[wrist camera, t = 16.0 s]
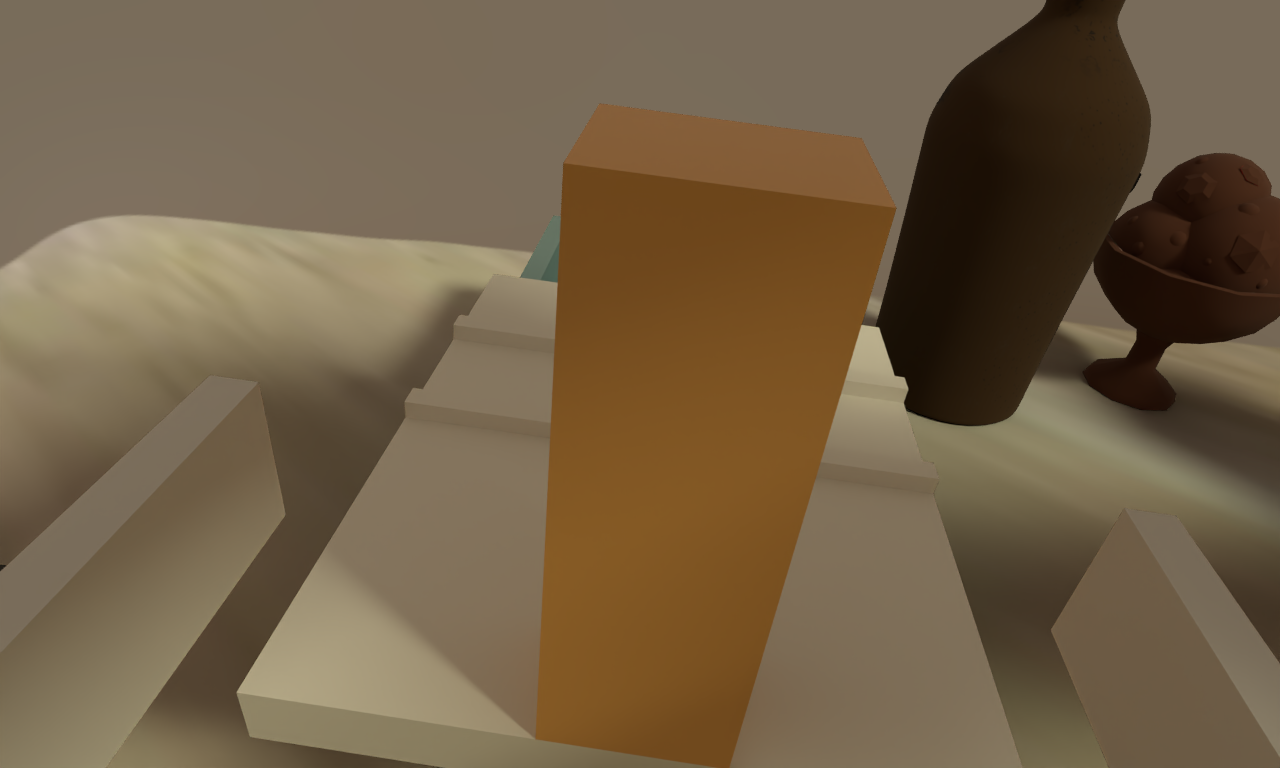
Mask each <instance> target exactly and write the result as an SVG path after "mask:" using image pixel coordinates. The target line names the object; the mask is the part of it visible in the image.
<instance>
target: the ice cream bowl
mask: <svg viewBox="0 0 1280 768" xmlns="http://www.w3.org/2000/svg"><path fill="white" fill-rule="evenodd" d="M1271 187H1272V186H1271V183H1270V181H1269V179H1268V178H1267V175H1266V173H1265V172H1264V171H1263V170H1262V169H1261V168H1260V167H1259V166H1257V165H1256V164H1255V163H1254V162H1252V161H1251V160H1248V159H1245V158H1243V157H1240V156H1237V155H1235V154H1227V153H1214V154H1207V155H1200V156H1197V157H1195V158H1193V159H1191V160H1188V161H1186V162H1184V163H1182V164H1180V165H1178V166H1177V167H1176V168H1174V169H1173V170H1172V171H1171V172H1170V173H1168V174H1167V175H1166V176H1165V177H1164V178H1163V179H1162V181H1161V182H1160V183H1159V185H1158V187H1157V188H1156V189H1155V191H1154V193H1153V197H1152V200H1151V201H1148V202H1146V203H1144V204H1142V205H1139V206H1137V207H1135V208H1133V209H1131V210H1129V211H1127V212H1126V213H1125V214H1123V215H1122V216H1121V217H1120V218H1118V219H1117V220H1116V221H1114V223H1113V225H1112V227H1111V228H1110V230H1109V232H1108V234H1107V236H1106V238H1105V240H1104V241H1103V243H1102V245H1101V247H1100V249H1099V251H1098V253H1097V255H1096V256H1095V258H1094V260H1093V262H1094V273H1095V275H1096V277H1097V279H1098V281H1099V283H1100V285H1101V288H1102V289H1103V292H1104V294H1105V295H1106V297H1107V298H1108V300H1109V301H1110V303H1111V304H1112V305H1113V307H1114V308H1115V310H1116V311H1117V312H1118V313H1119V315H1120V316H1121V317H1122V318H1123V319H1124V321H1125V322H1127V323H1128V324H1130V325H1131V326H1133V327H1134V328H1136V329H1137V336H1136V341H1135V343H1134V345H1133V347H1132V348H1131V350H1130V352H1129V354H1128V355H1127V357H1126V358H1112V359H1098V360H1096V361H1095V362H1094V363H1092V364H1091V365H1090V366H1088V367H1087V368H1086V369H1085V370H1084V371H1083V374H1084V376H1085V378H1086V379H1087V381H1088V383H1089V385H1090V386H1091V387H1093V388H1094V389H1096V390H1097V391H1099V392H1100V393H1102V394H1104V395H1105V396H1107V397H1108V398H1110V399H1111V400H1113V401H1116V402H1119V403H1123V404H1126V405H1129V406H1132V407H1135V408H1138V409H1141V410H1167V409H1168V408H1169V407H1170V406H1171V405H1172V404H1173V403H1174V402H1175V398H1176V393H1175V391H1174V390H1173V388H1172V387H1171V386H1170V384H1169V383H1168V381H1167V380H1166V379H1165V378H1164V377H1163V376H1162V375H1161V374H1160V373H1159V372H1158V371H1157V370H1156V367H1157V365H1158V363H1159V361H1160V359H1161V357H1162V355H1163V353H1164V351H1165V349H1166V348H1167V347H1169V346H1170V345H1171V344H1173V343H1190V344H1205V343H1216V342H1225V341H1229V340H1232V339H1236V338H1239V337H1243V336H1247V335H1250V334H1254V333H1256V332H1257V331H1259V330H1260V329H1262V328H1263V327H1265V326H1267V325H1268V324H1270V323H1271V322H1273V321H1274V320H1276V319H1277V318H1278V317H1279V316H1280V199H1279V198H1276V197H1274V196H1271Z"/></svg>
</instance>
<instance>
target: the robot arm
mask: <svg viewBox="0 0 1280 768" xmlns="http://www.w3.org/2000/svg"><path fill="white" fill-rule="evenodd" d="M285 515H286V514H285V509H284V504H283V499H282V494H281V489H280V484H279V479H278V474H277V469H276V464H275V459H274V454H273V449H272V445H271V440H270V435H269V430H268V425H267V420H266V415H265V410H264V405H263V400H262V395H261V390H260V385H259V382H255V381H248V380H241V379H234V378H227V377H220V376H214V375H210V376H208V377H207V378H206V379H205V380H204V381H203V382H202V383H201V384H200V385H199V386H198V387H197V388H196V389H195V390H194V391H192V392H191V393H190V394H189V395H188V396H187V397H186V398H185V399H184V400H183V401H182V402H181V403H180V404H179V405H178V406H176V407H175V408H174V409H173V410H172V411H171V412H170V413H169V414H168V415H167V416H166V417H165V418H164V419H163V420H162V421H160V422H159V423H158V424H157V425H156V426H155V427H154V428H153V429H152V430H151V431H150V432H149V433H148V434H147V435H145V436H144V437H143V438H142V439H141V440H140V441H139V442H138V443H137V444H136V445H135V446H134V447H133V448H132V449H131V450H129V451H128V452H127V453H126V454H125V455H124V456H123V457H122V458H121V459H120V460H119V461H118V462H117V463H116V464H115V465H113V466H112V467H111V468H110V469H109V470H108V471H107V472H106V473H105V474H104V475H103V476H102V477H101V478H100V479H99V480H97V481H96V482H95V483H94V484H93V485H92V486H91V487H90V488H89V489H88V490H87V491H86V492H85V493H84V494H83V495H81V496H80V497H79V498H78V499H77V500H76V501H75V502H74V503H73V504H72V505H71V506H70V507H69V508H68V509H67V510H65V511H64V512H63V513H62V514H61V515H60V516H59V517H58V518H57V519H56V520H55V521H54V522H53V523H52V524H51V525H49V526H48V527H47V528H46V529H45V530H44V531H43V532H42V533H41V534H40V535H39V536H38V537H37V538H36V539H34V540H33V541H32V542H31V543H30V544H29V545H28V546H27V547H26V548H25V549H24V550H23V551H22V552H21V553H20V554H18V555H17V556H16V557H15V558H14V559H13V560H12V561H11V562H10V563H9V564H8V565H7V566H6V565H0V768H106V767H107V766H108V764H109V763H110V761H111V760H112V759H113V757H114V756H115V754H116V753H117V751H118V750H119V749H120V747H121V746H122V744H123V743H124V742H125V740H126V739H127V737H128V736H129V735H130V733H131V732H132V730H133V729H134V728H135V726H136V725H137V723H138V722H139V721H140V719H141V718H142V716H143V715H144V714H145V712H146V711H147V709H148V708H149V706H150V705H151V704H152V702H153V701H154V699H155V698H156V697H157V695H158V694H159V692H160V691H161V690H162V688H163V687H164V685H165V684H166V683H167V681H168V680H169V678H170V677H171V676H172V674H173V673H174V671H175V670H176V669H177V667H178V666H179V664H180V663H181V661H182V660H183V659H184V657H185V656H186V654H187V653H188V652H189V650H190V649H191V647H192V646H193V645H194V643H195V642H196V640H197V639H198V638H199V636H200V635H201V633H202V632H203V631H204V629H205V628H206V626H207V625H208V624H209V622H210V621H211V619H212V618H213V616H214V615H215V614H216V612H217V611H218V609H219V608H220V607H221V605H222V604H223V602H224V601H225V600H226V598H227V597H228V595H229V594H230V593H231V591H232V590H233V588H234V587H235V586H236V584H237V583H238V581H239V580H240V578H241V577H242V576H243V574H244V573H245V571H246V570H247V569H248V567H249V566H250V564H251V563H252V562H253V560H254V559H255V557H256V556H257V555H258V553H259V552H260V550H261V549H262V548H263V546H264V545H265V543H266V542H267V541H268V539H269V538H270V536H271V535H272V533H273V532H274V531H275V529H276V528H277V526H278V525H279V524H280V522H281V521H282V519H283V518H284V517H285ZM1051 632H1052V635H1053V637H1054V639H1055V642H1056V644H1057V646H1058V649H1059V651H1060V653H1061V656H1062V658H1063V661H1064V663H1065V665H1066V668H1067V670H1068V672H1069V675H1070V677H1071V679H1072V682H1073V684H1074V687H1075V689H1076V691H1077V694H1078V696H1079V698H1080V701H1081V703H1082V705H1083V708H1084V710H1085V713H1086V715H1087V717H1088V720H1089V722H1090V724H1091V727H1092V729H1093V731H1094V734H1095V736H1096V739H1097V741H1098V743H1099V746H1100V748H1101V750H1102V753H1103V755H1104V757H1105V760H1106V762H1107V765H1108V767H1109V768H1280V663H1279V662H1278V660H1277V659H1276V657H1275V656H1274V655H1273V653H1272V652H1271V650H1270V649H1269V647H1268V646H1267V644H1266V643H1265V642H1264V640H1263V639H1262V637H1261V636H1260V634H1259V633H1258V632H1257V630H1256V629H1255V627H1254V626H1253V624H1252V623H1251V622H1250V620H1249V619H1248V617H1247V616H1246V614H1245V613H1244V612H1243V610H1242V609H1241V607H1240V606H1239V604H1238V603H1237V602H1236V600H1235V599H1234V597H1233V596H1232V594H1231V593H1230V592H1229V590H1228V589H1227V587H1226V586H1225V584H1224V583H1223V582H1222V580H1221V579H1220V577H1219V576H1218V574H1217V573H1216V571H1215V570H1214V569H1213V567H1212V566H1211V564H1210V563H1209V561H1208V560H1207V559H1206V557H1205V556H1204V554H1203V553H1202V551H1201V550H1200V549H1199V547H1198V546H1197V544H1196V543H1195V541H1194V540H1193V539H1192V537H1191V536H1190V534H1189V533H1188V531H1187V530H1186V529H1185V527H1184V526H1183V524H1182V523H1181V521H1180V520H1179V519H1178V517H1177V516H1175V515H1168V514H1161V513H1154V512H1147V511H1140V510H1133V509H1127V508H1124V509H1123V511H1122V513H1121V514H1120V516H1119V518H1118V519H1117V521H1116V523H1115V524H1114V526H1113V528H1112V529H1111V531H1110V533H1109V534H1108V536H1107V538H1106V539H1105V541H1104V543H1103V544H1102V546H1101V548H1100V549H1099V551H1098V553H1097V554H1096V556H1095V557H1094V559H1093V561H1092V562H1091V564H1090V566H1089V567H1088V569H1087V571H1086V572H1085V574H1084V576H1083V577H1082V579H1081V581H1080V582H1079V584H1078V586H1077V587H1076V589H1075V591H1074V592H1073V594H1072V596H1071V597H1070V599H1069V601H1068V602H1067V604H1066V605H1065V607H1064V609H1063V610H1062V612H1061V614H1060V615H1059V617H1058V619H1057V620H1056V622H1055V624H1054V625H1053V627H1052V629H1051Z"/></svg>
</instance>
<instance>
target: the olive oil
mask: <svg viewBox="0 0 1280 768" xmlns="http://www.w3.org/2000/svg"><path fill="white" fill-rule="evenodd" d="M1124 2H1125V0H1046V3H1045V5H1044V7H1043V9H1042V10H1041V11H1040V13H1039V14H1038V15H1036V16H1035V17H1034V18H1033V19H1032V20H1030V21H1029V22H1028V23H1027V24H1025V25H1024V26H1022V27H1021V28H1020V29H1018V30H1017V31H1015V32H1014V33H1013V34H1011V35H1010V36H1008V37H1007V38H1005V39H1004V40H1003V41H1001V42H1000V43H998V44H997V45H996V46H994V47H992V48H991V49H990V50H988V51H987V52H985V53H984V54H983V55H981V56H980V57H978V58H977V59H975V60H974V61H973V62H971V63H970V64H969V65H967V66H966V67H965V68H964V69H963V70H961V71H960V72H959V73H958V74H957V75H956V76H955V78H954V79H953V80H952V81H951V82H950V84H949V85H948V87H947V88H946V90H945V91H944V93H943V94H942V96H941V98H940V99H939V101H938V102H937V104H936V106H935V108H934V109H933V111H932V114H931V116H930V118H929V121H928V124H927V127H926V131H925V135H924V139H923V143H922V147H921V151H920V155H919V160H918V163H917V167H916V171H915V176H914V180H913V184H912V188H911V192H910V196H909V200H908V204H907V209H906V213H905V216H904V220H903V224H902V228H901V232H900V236H899V240H898V244H897V248H896V252H895V256H894V260H893V264H892V267H891V271H890V275H889V279H888V283H887V287H886V291H885V294H884V298H883V302H882V305H881V309H880V312H879V316H878V320H877V323H876V327H879V329H880V332H881V335H882V338H883V341H884V344H885V348H886V351H887V354H888V357H889V360H890V363H891V366H892V369H893V372H894V375H895V376H898V377H904V378H905V381H906V384H907V387H908V392H907V395H906V398H905V400H904V406H905V407H906V408H907V409H910V410H912V411H914V412H916V413H919V414H921V415H924V416H927V417H930V418H933V419H936V420H940V421H944V422H948V423H954V424H961V425H988V424H993V423H997V422H1000V421H1003V420H1005V419H1007V418H1009V417H1010V416H1011V415H1012V414H1013V413H1014V412H1015V411H1016V409H1017V408H1018V406H1019V404H1020V402H1021V400H1022V398H1023V396H1024V394H1025V392H1026V390H1027V388H1028V386H1029V384H1030V382H1031V380H1032V378H1033V376H1034V374H1035V372H1036V370H1037V368H1038V366H1039V364H1040V362H1041V360H1042V358H1043V356H1044V354H1045V352H1046V350H1047V348H1048V346H1049V344H1050V342H1051V340H1052V338H1053V336H1054V335H1055V333H1056V331H1057V329H1058V327H1059V325H1060V323H1061V321H1062V319H1063V317H1064V315H1065V313H1066V312H1067V310H1068V308H1069V306H1070V304H1071V302H1072V300H1073V298H1074V296H1075V294H1076V292H1077V290H1078V289H1079V287H1080V285H1081V283H1082V281H1083V279H1084V277H1085V275H1086V273H1087V271H1088V270H1089V268H1090V266H1091V264H1092V262H1093V260H1094V258H1095V256H1096V255H1097V253H1098V251H1099V249H1100V247H1101V245H1102V243H1103V241H1104V240H1105V238H1106V236H1107V234H1108V232H1109V230H1110V228H1111V227H1112V225H1113V223H1114V221H1115V219H1116V217H1117V215H1118V213H1119V212H1120V210H1121V208H1122V206H1123V204H1124V202H1125V201H1126V199H1127V197H1128V195H1129V193H1130V192H1131V191H1132V190H1133V189H1134V188H1135V186H1136V184H1137V182H1138V180H1139V178H1140V176H1141V173H1140V172H1141V169H1142V167H1143V164H1144V161H1145V158H1146V154H1147V149H1148V143H1149V135H1150V127H1151V114H1150V108H1149V104H1148V101H1147V98H1146V95H1145V93H1144V90H1143V88H1142V85H1141V84H1140V81H1139V78H1138V77H1137V74H1136V72H1135V69H1134V67H1133V65H1132V63H1131V60H1130V58H1129V56H1128V53H1127V51H1126V49H1125V47H1124V44H1123V42H1122V39H1121V37H1120V34H1119V30H1118V26H1117V21H1118V16H1119V13H1120V11H1121V9H1122V7H1123V4H1124Z"/></svg>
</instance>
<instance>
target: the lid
mask: <svg viewBox="0 0 1280 768" xmlns="http://www.w3.org/2000/svg"><path fill="white" fill-rule="evenodd" d="M895 211H896V206H895V204H894V202H893V200H892V198H891V196H890V194H889V192H888V190H887V188H886V186H885V184H884V182H883V180H882V178H881V176H880V174H879V172H878V170H877V168H876V166H875V164H874V162H873V160H872V158H871V156H870V154H869V152H868V150H867V148H866V146H865V144H864V142H863V140H862V138H856V137H849V136H841V135H834V134H826V133H818V132H811V131H804V130H796V129H788V128H781V127H773V126H766V125H758V124H751V123H743V122H735V121H728V120H720V119H713V118H706V117H698V116H690V115H683V114H675V113H668V112H660V111H653V110H645V109H638V108H630V107H622V106H614V105H607V104H599V105H598V107H597V109H596V111H595V112H594V114H593V115H592V117H591V119H590V120H589V122H588V123H587V125H586V127H585V129H584V130H583V132H582V133H581V135H580V137H579V138H578V140H577V142H576V143H575V145H574V147H573V148H572V150H571V151H570V153H569V155H568V156H567V158H566V160H565V161H564V163H563V182H562V203H561V223H560V244H559V264H558V283H556V282H549V281H542V280H535V279H528V278H521V277H513V276H506V275H499V274H493V276H492V277H491V279H490V281H489V282H488V284H487V286H486V287H485V289H484V290H483V292H482V294H481V295H480V297H479V299H478V300H477V302H476V303H475V305H474V307H473V308H472V310H471V312H470V313H469V315H468V316H466V315H459V316H458V318H457V320H456V321H455V323H454V324H453V336H454V339H453V341H452V342H451V344H450V346H449V347H448V349H447V351H446V352H445V354H444V355H443V357H442V359H441V360H440V362H439V364H438V365H437V367H436V369H435V370H434V372H433V373H432V375H431V377H430V378H429V380H428V382H427V383H426V385H425V386H424V388H423V389H419V388H413V389H412V390H411V392H410V393H409V395H408V397H407V398H406V400H405V401H404V405H405V419H404V421H403V422H402V424H401V425H400V427H399V429H398V430H397V432H396V434H395V435H394V437H393V438H392V440H391V442H390V443H389V445H388V447H387V448H386V450H385V451H384V453H383V455H382V456H381V458H380V460H379V461H378V463H377V465H376V466H375V468H374V469H373V471H372V473H371V474H370V476H369V478H368V479H367V481H366V482H365V484H364V486H363V487H362V489H361V491H360V492H359V494H358V495H357V497H356V499H355V500H354V502H353V504H352V505H351V507H350V508H349V510H348V512H347V513H346V515H345V517H344V518H343V520H342V521H341V523H340V525H339V526H338V528H337V530H336V531H335V533H334V534H333V536H332V538H331V539H330V541H329V543H328V544H327V546H326V548H325V549H324V551H323V552H322V554H321V556H320V557H319V559H318V561H317V562H316V564H315V565H314V567H313V569H312V570H311V572H310V574H309V575H308V577H307V578H306V580H305V582H304V583H303V585H302V587H301V588H300V590H299V591H298V593H297V595H296V596H295V598H294V600H293V601H292V603H291V604H290V606H289V608H288V609H287V611H286V613H285V614H284V616H283V617H282V619H281V621H280V622H279V624H278V626H277V627H276V629H275V630H274V632H273V634H272V635H271V637H270V639H269V640H268V642H267V644H266V645H265V647H264V648H263V650H262V652H261V653H260V655H259V657H258V658H257V660H256V661H255V663H254V665H253V666H252V668H251V670H250V671H249V673H248V674H247V676H246V678H245V679H244V681H243V683H242V684H241V686H240V687H239V689H238V691H237V692H236V693H237V696H238V699H239V703H240V706H241V709H242V713H243V716H244V719H245V722H246V726H247V729H248V732H249V736H250V737H253V738H260V739H266V740H272V741H279V742H285V743H291V744H297V745H304V746H310V747H316V748H323V749H329V750H335V751H342V752H348V753H354V754H361V755H367V756H373V757H380V758H386V759H392V760H399V761H405V762H411V763H418V764H424V765H430V766H436V767H443V768H1023V767H1022V764H1021V761H1020V758H1019V755H1018V752H1017V749H1016V746H1015V743H1014V740H1013V737H1012V734H1011V730H1010V727H1009V724H1008V721H1007V718H1006V715H1005V712H1004V709H1003V706H1002V703H1001V700H1000V697H999V694H998V691H997V688H996V685H995V681H994V678H993V675H992V672H991V669H990V666H989V663H988V660H987V657H986V654H985V651H984V648H983V645H982V642H981V639H980V636H979V632H978V629H977V626H976V623H975V620H974V617H973V614H972V611H971V608H970V605H969V602H968V599H967V596H966V593H965V590H964V586H963V583H962V580H961V577H960V574H959V571H958V568H957V565H956V562H955V559H954V556H953V553H952V550H951V547H950V544H949V541H948V537H947V534H946V531H945V528H944V525H943V522H942V519H941V516H940V513H939V510H938V507H937V504H936V501H935V498H934V495H933V494H934V491H935V489H936V486H937V484H938V481H939V476H938V474H937V471H936V468H935V465H934V463H932V462H925V461H922V458H921V455H920V452H919V449H918V446H917V443H916V439H915V436H914V433H913V430H912V427H911V424H910V421H909V418H908V415H907V412H906V409H905V406H904V400H905V398H906V395H907V392H908V387H907V384H906V381H905V378H904V377H898V376H895V375H894V372H893V369H892V366H891V363H890V360H889V357H888V354H887V351H886V348H885V344H884V341H883V338H882V335H881V332H880V329H879V327H872V326H865V325H862V322H863V319H864V315H865V312H866V309H867V305H868V302H869V299H870V295H871V292H872V289H873V285H874V282H875V279H876V275H877V272H878V268H879V265H880V261H881V258H882V255H883V252H884V248H885V245H886V241H887V238H888V235H889V231H890V228H891V225H892V222H893V218H894V215H895Z"/></svg>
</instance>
